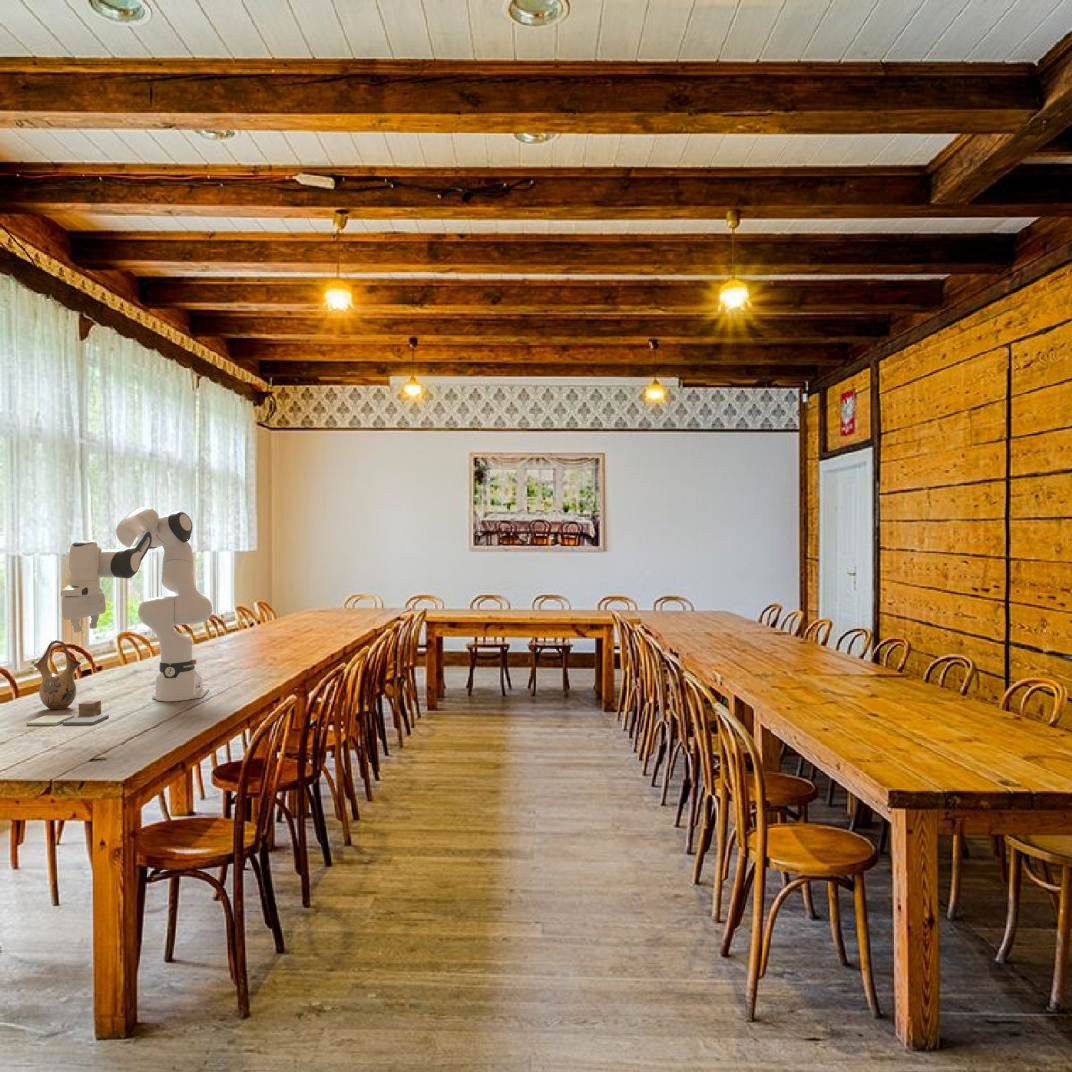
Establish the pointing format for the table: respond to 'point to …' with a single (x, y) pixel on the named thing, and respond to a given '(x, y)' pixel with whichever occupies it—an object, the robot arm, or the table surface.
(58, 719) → the pad
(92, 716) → the pad
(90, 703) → the walnut block
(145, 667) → the table surface
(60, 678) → the ceramic vessel
